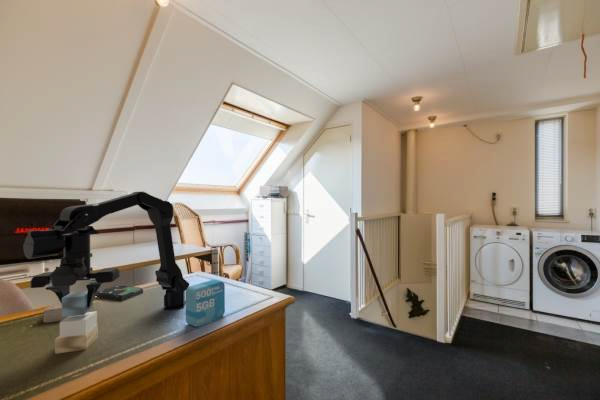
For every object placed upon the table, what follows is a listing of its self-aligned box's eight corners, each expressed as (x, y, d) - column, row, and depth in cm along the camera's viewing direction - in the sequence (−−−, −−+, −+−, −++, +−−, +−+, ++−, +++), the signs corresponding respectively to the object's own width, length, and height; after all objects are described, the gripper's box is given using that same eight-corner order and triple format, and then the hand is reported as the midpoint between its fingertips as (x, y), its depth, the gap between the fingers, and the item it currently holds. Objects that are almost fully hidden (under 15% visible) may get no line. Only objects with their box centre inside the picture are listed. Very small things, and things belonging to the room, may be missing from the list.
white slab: (97, 325, 80) (96, 311, 80) (85, 334, 74) (85, 320, 74) (73, 327, 79) (73, 313, 79) (59, 337, 73) (59, 322, 73)
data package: (193, 328, 85) (193, 289, 85) (185, 325, 88) (185, 287, 88) (225, 315, 95) (224, 280, 95) (216, 312, 98) (216, 278, 98)
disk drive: (94, 299, 114) (122, 301, 110) (94, 292, 114) (122, 294, 110) (117, 291, 124) (144, 293, 120) (117, 285, 124) (143, 287, 120)
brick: (72, 319, 93) (72, 305, 93) (41, 324, 90) (41, 309, 90) (90, 303, 109) (90, 291, 109) (64, 306, 106) (64, 294, 106)
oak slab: (97, 338, 81) (97, 324, 81) (86, 350, 74) (86, 335, 74) (69, 341, 79) (69, 327, 79) (55, 354, 72) (54, 339, 72)
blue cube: (92, 307, 79) (92, 290, 79) (83, 314, 75) (83, 296, 75) (72, 309, 78) (71, 292, 78) (61, 316, 73) (61, 298, 73)
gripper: (13, 260, 66) (14, 325, 66) (103, 255, 71) (104, 316, 71) (43, 251, 77) (44, 308, 77) (119, 248, 82) (120, 301, 82)
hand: (77, 308), depth 76 cm, fingers closed on blue cube, 5 cm apart
